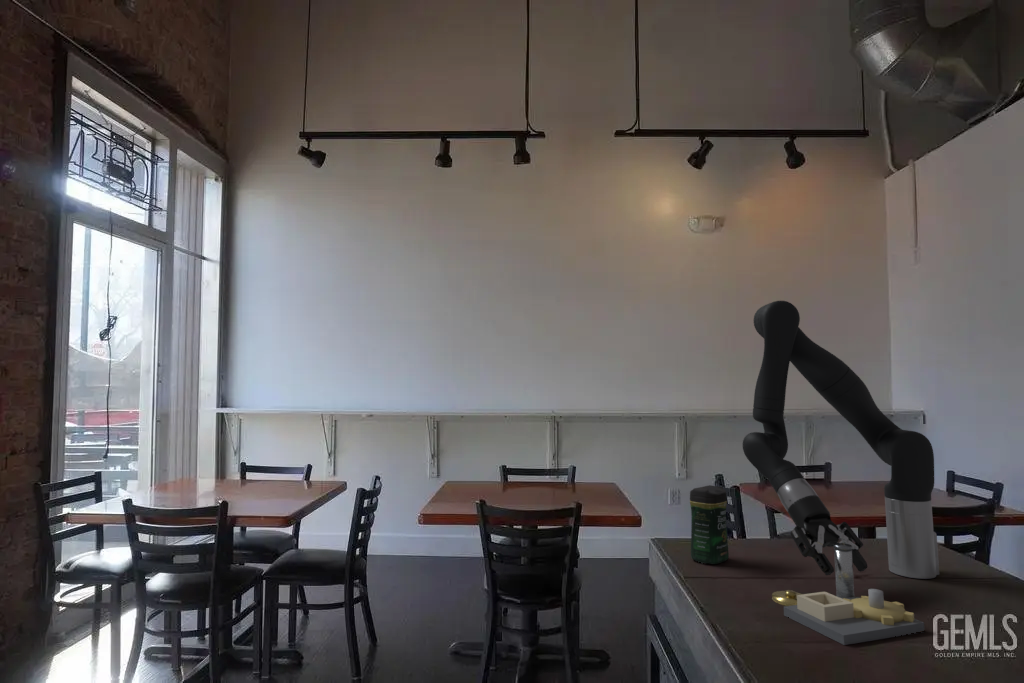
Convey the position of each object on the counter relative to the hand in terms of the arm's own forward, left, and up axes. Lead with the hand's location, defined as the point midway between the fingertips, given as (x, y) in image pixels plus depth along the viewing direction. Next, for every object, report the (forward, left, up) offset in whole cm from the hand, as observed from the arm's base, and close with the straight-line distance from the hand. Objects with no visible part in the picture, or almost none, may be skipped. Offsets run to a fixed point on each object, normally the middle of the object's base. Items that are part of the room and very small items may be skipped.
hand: (847, 571), depth 121 cm
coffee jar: (+9, -34, -6) cm, 36 cm away
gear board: (+9, +9, -6) cm, 14 cm away
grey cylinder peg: (0, -1, -6) cm, 6 cm away
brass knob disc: (+11, -4, -6) cm, 13 cm away
